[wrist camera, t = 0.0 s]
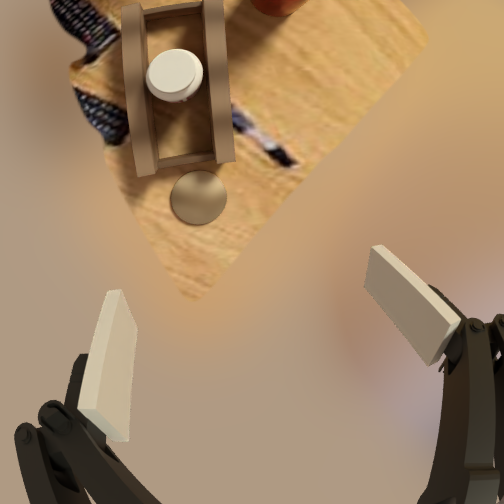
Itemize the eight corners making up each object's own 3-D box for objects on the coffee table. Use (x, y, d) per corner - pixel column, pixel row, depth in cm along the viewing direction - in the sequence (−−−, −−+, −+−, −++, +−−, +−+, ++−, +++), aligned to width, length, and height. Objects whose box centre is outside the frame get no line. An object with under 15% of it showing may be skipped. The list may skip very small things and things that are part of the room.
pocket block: (130, 20, 24) (121, 6, 19) (217, 7, 26) (222, -9, 21) (145, 167, 35) (137, 177, 30) (229, 154, 37) (235, 161, 32)
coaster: (167, 175, 37) (166, 176, 36) (223, 166, 38) (223, 167, 37) (176, 226, 41) (176, 228, 40) (228, 218, 42) (229, 219, 41)
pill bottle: (191, 54, 29) (191, 32, 19) (208, 91, 32) (215, 83, 23) (148, 73, 29) (131, 60, 20) (165, 111, 32) (155, 110, 23)
